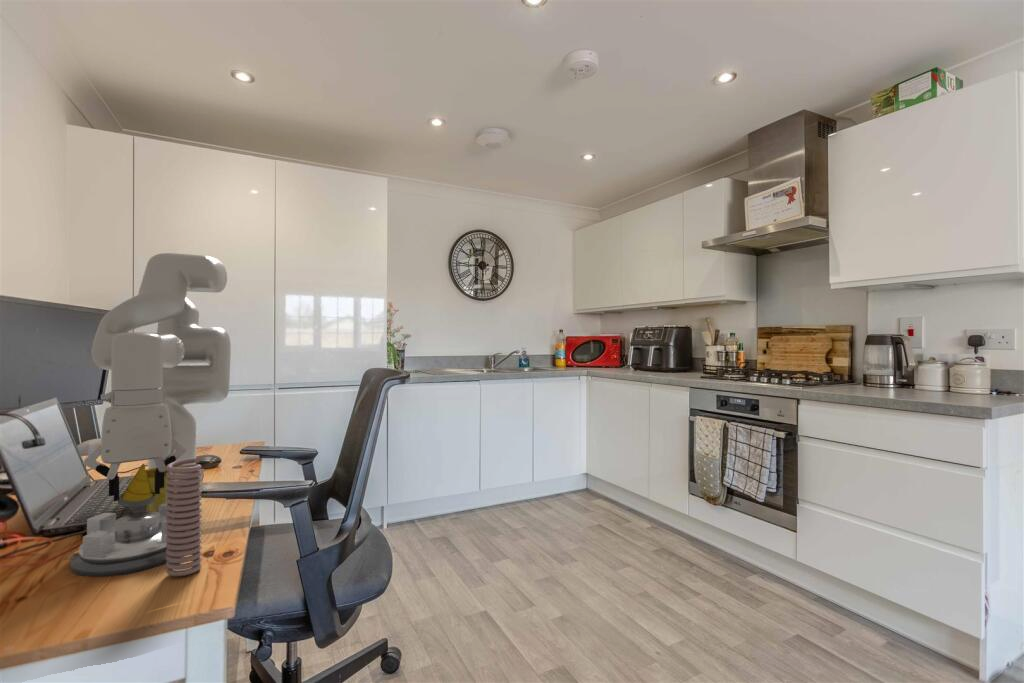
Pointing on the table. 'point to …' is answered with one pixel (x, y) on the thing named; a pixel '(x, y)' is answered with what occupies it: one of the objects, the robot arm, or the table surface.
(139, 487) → the stepped yellow cone
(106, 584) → the table surface
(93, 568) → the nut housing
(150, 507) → the plant pot
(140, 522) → the steel lathe chuck
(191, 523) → the coil
